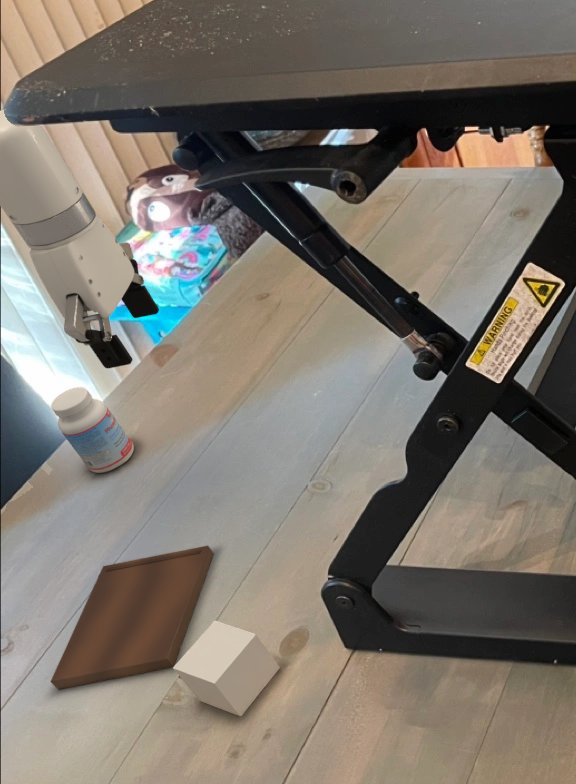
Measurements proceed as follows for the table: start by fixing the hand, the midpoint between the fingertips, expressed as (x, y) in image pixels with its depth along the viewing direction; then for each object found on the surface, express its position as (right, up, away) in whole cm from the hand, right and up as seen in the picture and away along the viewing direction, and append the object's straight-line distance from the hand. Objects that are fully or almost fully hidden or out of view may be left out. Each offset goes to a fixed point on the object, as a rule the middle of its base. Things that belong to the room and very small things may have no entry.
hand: (133, 339), depth 127 cm
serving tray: (+3, -32, -5) cm, 33 cm away
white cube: (+19, -36, -15) cm, 44 cm away
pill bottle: (-13, -17, +19) cm, 29 cm away
